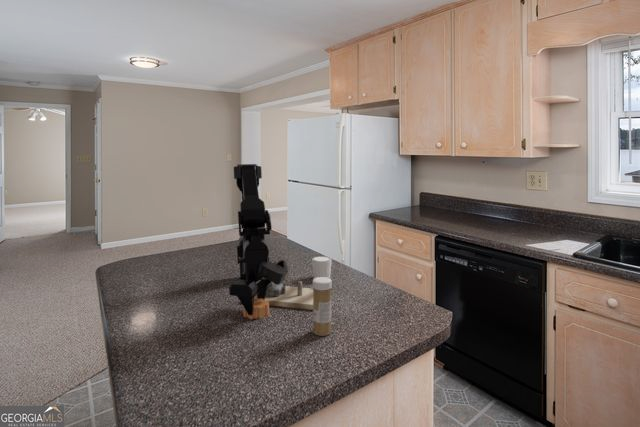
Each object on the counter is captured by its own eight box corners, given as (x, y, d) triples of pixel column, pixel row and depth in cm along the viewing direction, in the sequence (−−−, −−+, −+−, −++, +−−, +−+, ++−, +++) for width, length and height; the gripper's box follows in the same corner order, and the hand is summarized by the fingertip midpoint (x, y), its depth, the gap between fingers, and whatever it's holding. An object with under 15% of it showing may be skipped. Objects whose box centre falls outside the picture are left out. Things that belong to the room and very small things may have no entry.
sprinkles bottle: (311, 328, 94) (311, 276, 92) (329, 327, 95) (329, 275, 92) (314, 337, 89) (314, 283, 87) (333, 335, 90) (333, 281, 88)
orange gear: (238, 317, 100) (238, 306, 100) (250, 307, 107) (249, 297, 107) (263, 320, 99) (263, 309, 98) (273, 309, 105) (273, 299, 105)
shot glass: (330, 282, 127) (329, 262, 126) (310, 281, 128) (309, 261, 127) (333, 275, 133) (333, 256, 132) (314, 274, 135) (314, 255, 134)
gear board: (242, 302, 110) (242, 284, 109) (259, 288, 122) (259, 271, 121) (315, 310, 105) (315, 291, 104) (326, 294, 116) (326, 277, 115)
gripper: (269, 266, 89) (271, 328, 92) (294, 246, 107) (295, 299, 109) (226, 262, 92) (229, 323, 94) (258, 244, 110) (259, 295, 112)
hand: (256, 309), depth 103 cm, fingers closed on orange gear, 7 cm apart
